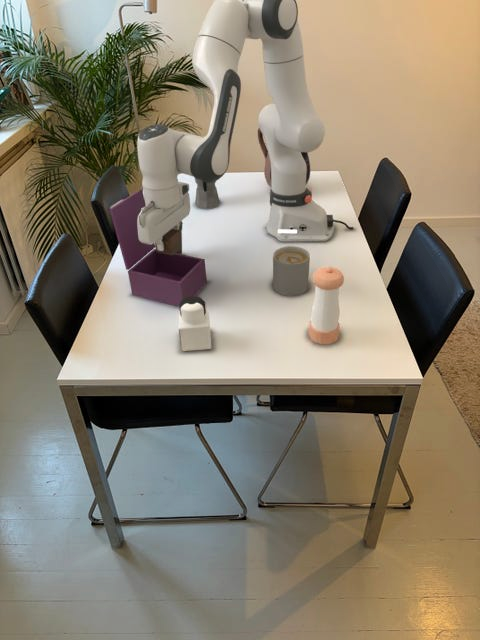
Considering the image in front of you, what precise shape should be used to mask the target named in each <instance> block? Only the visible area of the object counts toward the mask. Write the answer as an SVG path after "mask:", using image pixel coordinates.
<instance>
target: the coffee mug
mask: <svg viewBox="0 0 480 640" xmlns="http://www.w3.org/2000/svg"><path fill="white" fill-rule="evenodd" d="M310 260H311V255H310V252H309V251H308V250H307V249H306V248H303V247H300V246H295V245H287V246H282V247H279V248H277V249H276V250H275V251H274V252H273V253H272V289H273V290H274V291H275V292H276V293H278V294H280V295H283V296H289V297H291V296H292V297H293V296H294V297H295V296H300V295H302V294H304V293H305V292H306V291H307V290H308V289H309V280H310V279H309V277H310Z"/></svg>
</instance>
